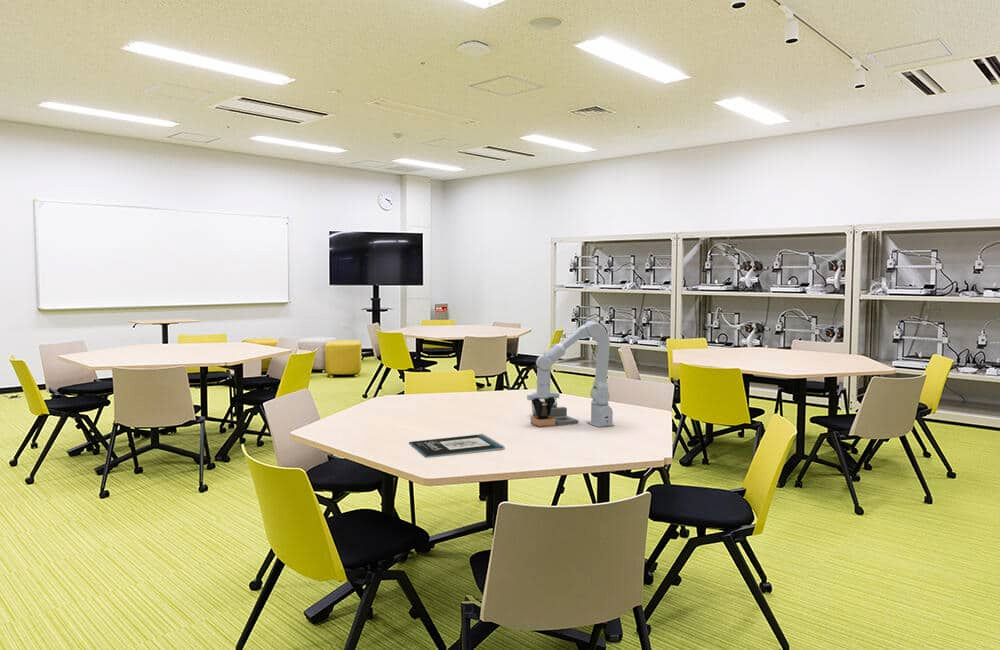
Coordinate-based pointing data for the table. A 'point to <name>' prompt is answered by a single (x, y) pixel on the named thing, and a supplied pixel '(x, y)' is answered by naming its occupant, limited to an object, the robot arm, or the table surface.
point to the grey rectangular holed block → (562, 416)
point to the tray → (543, 421)
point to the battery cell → (544, 411)
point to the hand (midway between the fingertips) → (543, 415)
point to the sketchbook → (456, 445)
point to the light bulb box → (543, 400)
